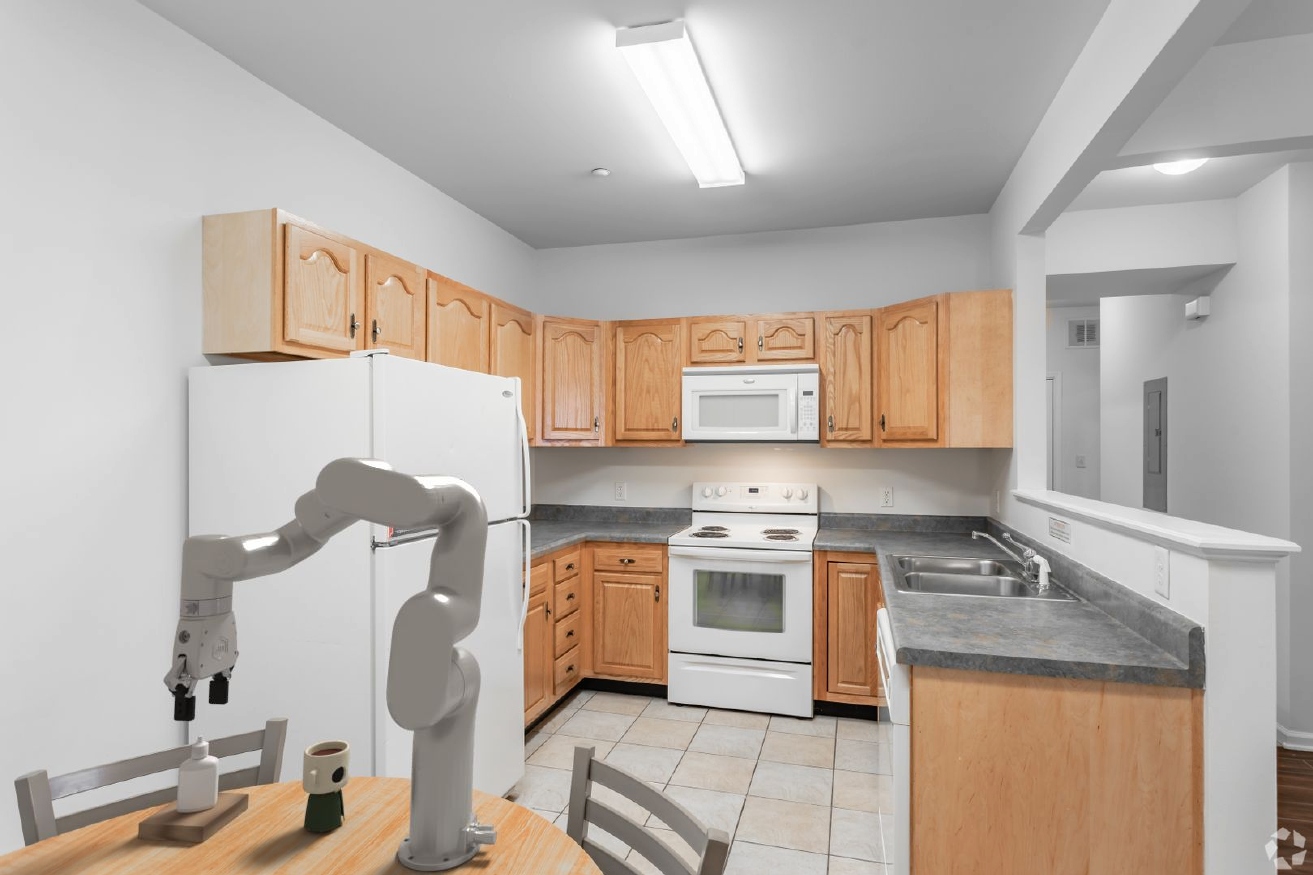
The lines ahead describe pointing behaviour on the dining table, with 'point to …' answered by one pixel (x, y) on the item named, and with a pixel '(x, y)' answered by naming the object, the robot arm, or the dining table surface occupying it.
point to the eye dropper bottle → (198, 780)
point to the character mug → (325, 783)
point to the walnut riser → (192, 820)
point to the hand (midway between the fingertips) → (201, 710)
